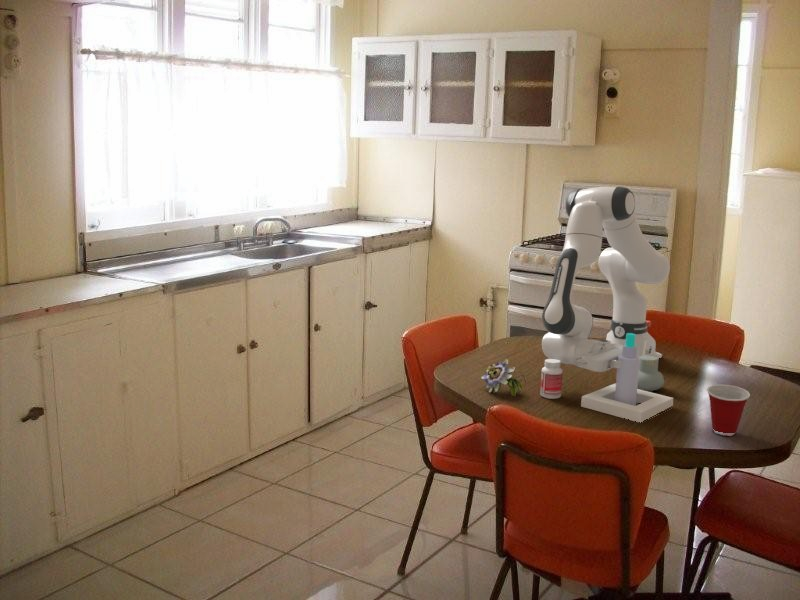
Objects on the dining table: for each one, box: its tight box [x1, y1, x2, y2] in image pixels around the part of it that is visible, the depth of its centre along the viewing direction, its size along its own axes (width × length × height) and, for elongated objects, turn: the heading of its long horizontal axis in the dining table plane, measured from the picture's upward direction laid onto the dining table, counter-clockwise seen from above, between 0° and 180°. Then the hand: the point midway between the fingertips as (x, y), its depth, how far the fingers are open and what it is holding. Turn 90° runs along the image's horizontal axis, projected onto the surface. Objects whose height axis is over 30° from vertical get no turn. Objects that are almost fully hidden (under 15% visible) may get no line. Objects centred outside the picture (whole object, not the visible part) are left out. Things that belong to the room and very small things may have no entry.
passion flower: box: [480, 358, 528, 398], centre depth 264 cm, size 11×11×12 cm
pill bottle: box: [540, 358, 563, 400], centre depth 261 cm, size 6×6×11 cm
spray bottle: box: [615, 333, 640, 406], centre depth 251 cm, size 6×6×22 cm
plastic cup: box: [706, 383, 751, 433], centre depth 233 cm, size 11×11×12 cm
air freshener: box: [637, 355, 665, 392], centre depth 271 cm, size 11×8×10 cm
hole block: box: [580, 382, 674, 424], centre depth 253 cm, size 19×19×3 cm
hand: (633, 364), depth 250 cm, fingers closed on spray bottle, 4 cm apart
